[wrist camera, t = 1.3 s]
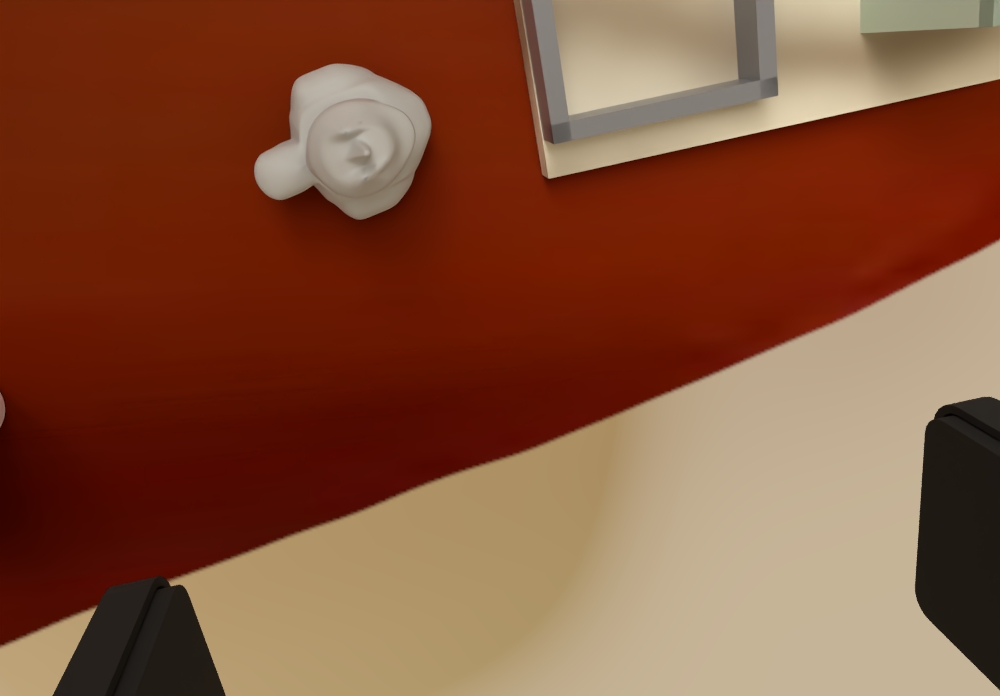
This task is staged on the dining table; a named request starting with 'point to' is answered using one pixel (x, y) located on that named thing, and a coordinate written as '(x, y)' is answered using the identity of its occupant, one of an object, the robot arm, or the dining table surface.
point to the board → (713, 59)
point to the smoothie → (2, 409)
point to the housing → (927, 14)
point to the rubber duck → (348, 141)
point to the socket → (751, 85)
